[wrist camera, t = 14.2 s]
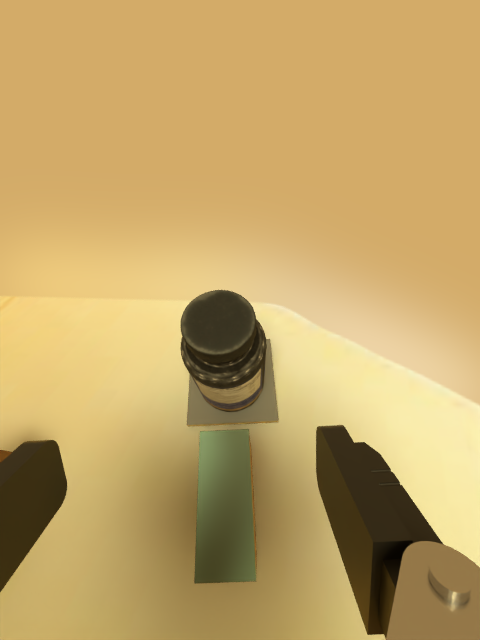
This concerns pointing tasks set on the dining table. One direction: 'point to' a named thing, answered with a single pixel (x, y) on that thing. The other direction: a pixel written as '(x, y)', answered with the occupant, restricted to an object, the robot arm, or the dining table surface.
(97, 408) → the dining table surface
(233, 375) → the pill bottle
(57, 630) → the dining table surface
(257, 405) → the slate pad
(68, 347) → the dining table surface
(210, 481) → the walnut channel
